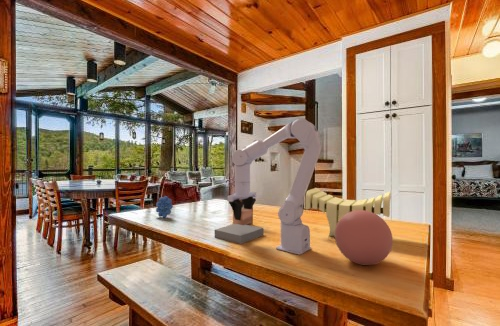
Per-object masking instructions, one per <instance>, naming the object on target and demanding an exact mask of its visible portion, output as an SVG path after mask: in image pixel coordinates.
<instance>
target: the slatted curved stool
mask: <svg viewBox="0 0 500 326" xmlns="http://www.w3.org/2000/svg"><path fill="white" fill-rule="evenodd" d="M391 195H392V193H391V190H389V191H387V192H385V194H379V195H378V196H377V197H375V196H374V197H370V198H369V199H368V198H365V199H358V200H356V199H344V198H339V197H338V196H337V197H336V196H333V195H331V194H327V192H325V191H321V189H319V188H317V187H314V188H311V189H307V191H306V193H305V197H304V205H305V208H304V210H310V209H312V210H319V211H320V212H322V213H323V214H325V213H326V216H325V217H326V218H327V221H328V226H329V234H328V237H334V238H335V229H336V226H337V223H338V222H339V220H340V219H341V218H342V217H343V216H344V215H345V214H347V213H349V212H352V211H356V210H365V211H369V212H372V213H375V214H376V215H378V216H381V215H382V216H385V217H387V218H390V213H391V211H390V209H391V197H392V196H391Z"/></svg>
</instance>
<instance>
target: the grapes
mask: <svg viewBox="0 0 500 326" xmlns="http://www.w3.org/2000/svg"><path fill="white" fill-rule="evenodd" d="M172 201H173V200H172V199H171V198H169V196H166V195H164V196H161V197H159V199H158V201H157V202H156V204H155V205H156V206H155V207H156V209H155V212H156V213H158V214H157V215H158V217H160V218H161V217H162V218H164V219H165V218H167V217H168V216H169V215H171V213H172V209H173V207H174V205H173V204H172Z"/></svg>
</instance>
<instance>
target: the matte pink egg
mask: <svg viewBox="0 0 500 326" xmlns="http://www.w3.org/2000/svg"><path fill="white" fill-rule="evenodd" d="M334 239H335V243H336V246H337V248H338V250H339V251H340V253H341V254H342V255H343V256H344V257H345V258H346V259H347V260H349V261H350V262H353V263H355V264H358V265H361V266H374V265H377V264H380V263H381V262H382V261H384V260H385V259H386V258H387V257H388V256H389V254H390V253H391V251H392V248H393V243H394V240H393V233H392V231H391V229H390V227H389V224H388V223H387V222H386V221H385V220H384V218H382V217H381V216H380V215H378V214H375V213H372V212H369V211H365V210H356V211H352V212H349V213H347V214H345V215H344V216H343V217H342V218H341V219H340V220H339V222H338V223H337V226H336V229H335V237H334Z"/></svg>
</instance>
